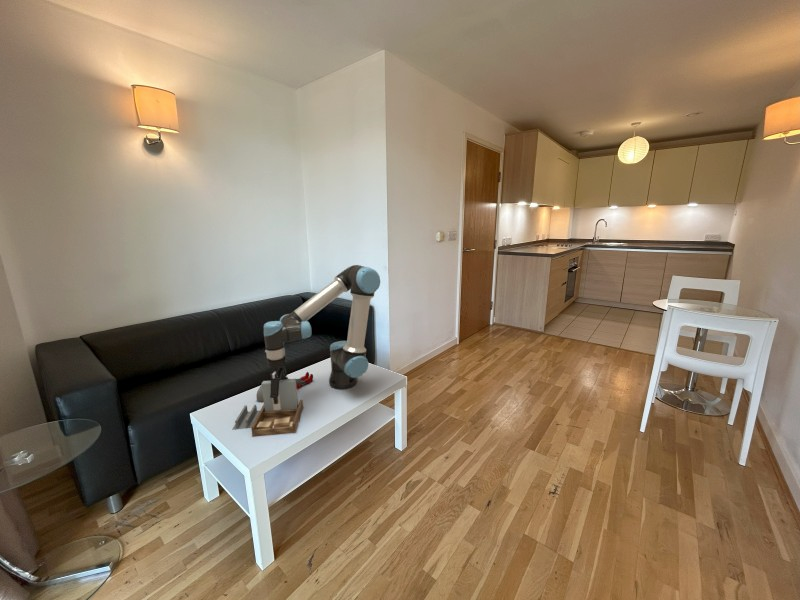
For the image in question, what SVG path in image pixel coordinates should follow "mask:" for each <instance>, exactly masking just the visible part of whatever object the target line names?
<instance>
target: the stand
mask: <svg viewBox="0 0 800 600" xmlns="http://www.w3.org/2000/svg"><path fill="white" fill-rule="evenodd" d="M257 408H258V407H257V404H254V405H253V406H252V408H251V410H250V411H248V405H244V406H243V408H242V410H241V411H240V413H239V414H238V416H237V418H236V419H235V422H234V423H235V424H234V425H233V427H232V429H231V430H232V431H233V430H244V429H251V427H252V425H253V423H254V422H255V420H256V418H257V416H258V414H259V412H260V410H258V409H257Z"/></svg>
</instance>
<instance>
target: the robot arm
mask: <svg viewBox="0 0 800 600" xmlns="http://www.w3.org/2000/svg"><path fill="white" fill-rule="evenodd" d="M380 277H381V276H380V275H379V273H378V272H377V270H375V269H374V268H372V267H369V266H362V265H361V264H353V265H351V266H348V267H347V268H345V269H344V270H342V271H341V272H340V273H338V274H337V275H336V276H334V279H333V281H331V282H330V283H329V284H327V285H326V286H325V287H324V288H322V289H321V290H320V291H318V292H317V293H315V295H313V296H312V297H310V298H309V299H308V300H306V301H305V302H304V303H302V304H301V305H300V306H299V307H297V308H296V309H295V310H293V311H291V313H287V314H284V315H282V316H281V317H280V318H279V320H274V321H273V320H271V321H267V322H266V323H264V324H263V338H264V344H265V345H264V346H265V350H264V353H266V363H267V367H268V368H269V369H272V371H271V373H270V374H269V376H270V381H271V395H270V398H272V399H273V407H274V410H280V409H281V406H280V397H279V395H278V394H279V381H280V380H287V379H289V377H288V374H287V371H286V367H285V366H286V364H287V360H286V349H285V343H288V342H293V341H298V340H305V339H307V338H310V337H311V336H312V333H313V332H312V325H311V324H310V322H309V320H310V319H311V318H312V317H314V316H315V315H316V314H317V313H319V312H320V311H321V310H322V309H324V308H325V307H326V306H327V305H329V304H330V303H331V302H333V301H334V300H335V299H336V298H338V297H339V296H341V294H343V293H348V292H349V291H350V295H351V296H352V300H351V307H350V308H351V309H350V316H349V323H348V330H347V338H346V339H347V340H339V341H335V342H333V343H331V344H330V346H329V352H330V353H329V354H330V355H329V356H330V367H331V371H330V376H329V379H328V383H329V384H328V385H329V386H330V388H332V389H336V390H345V389H350V388H353V387H355V386H356V384H357V383H358V378H360V377H361V376H363V375H364V374H365V373H367V371H368V368H369V361H368V358H367V357H366V355H367V348H366V347H365V340H366V334H367V328H368V327H367V326H368V320H369V311H370V305H371V300H372V298H374V297H375V293H376V292H377V290H379V288H380V285H381V278H380Z"/></svg>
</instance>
